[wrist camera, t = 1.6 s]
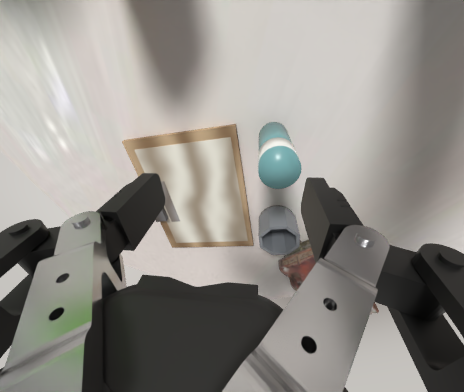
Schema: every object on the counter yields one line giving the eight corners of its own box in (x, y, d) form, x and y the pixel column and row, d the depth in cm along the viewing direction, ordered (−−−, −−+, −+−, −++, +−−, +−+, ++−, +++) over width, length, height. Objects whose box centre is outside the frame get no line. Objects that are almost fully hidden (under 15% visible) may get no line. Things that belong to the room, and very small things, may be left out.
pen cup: (294, 204, 34) (300, 226, 29) (294, 231, 37) (299, 254, 33) (257, 206, 35) (257, 227, 30) (260, 232, 38) (261, 254, 34)
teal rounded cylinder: (286, 117, 26) (302, 147, 16) (286, 145, 28) (301, 187, 18) (257, 121, 27) (256, 153, 17) (259, 148, 29) (259, 190, 19)
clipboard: (235, 124, 27) (234, 127, 26) (253, 242, 40) (253, 249, 39) (124, 140, 31) (117, 143, 29) (173, 244, 43) (170, 251, 42)
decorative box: (305, 290, 47) (315, 335, 39) (259, 240, 40) (259, 284, 32) (362, 274, 42) (387, 323, 34) (322, 213, 34) (341, 258, 26)
